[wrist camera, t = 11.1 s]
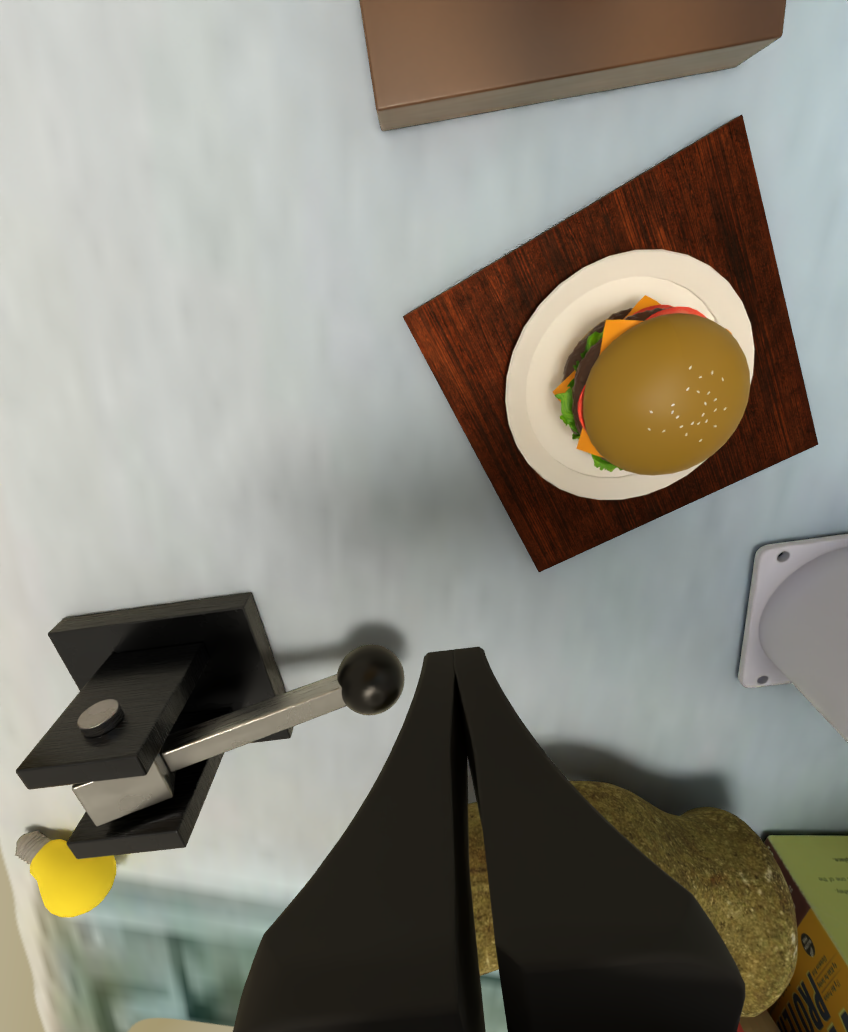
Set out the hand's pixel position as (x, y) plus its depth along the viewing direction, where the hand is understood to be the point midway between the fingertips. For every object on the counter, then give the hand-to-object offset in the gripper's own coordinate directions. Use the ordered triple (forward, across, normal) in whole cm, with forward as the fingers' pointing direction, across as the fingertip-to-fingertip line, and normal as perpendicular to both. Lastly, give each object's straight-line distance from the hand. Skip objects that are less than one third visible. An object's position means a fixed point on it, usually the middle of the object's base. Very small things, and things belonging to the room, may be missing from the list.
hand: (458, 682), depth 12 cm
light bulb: (+9, +23, +17) cm, 30 cm away
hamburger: (+10, -7, -4) cm, 14 cm away
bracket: (+10, +14, +7) cm, 18 cm away
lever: (+8, +9, +7) cm, 14 cm away
